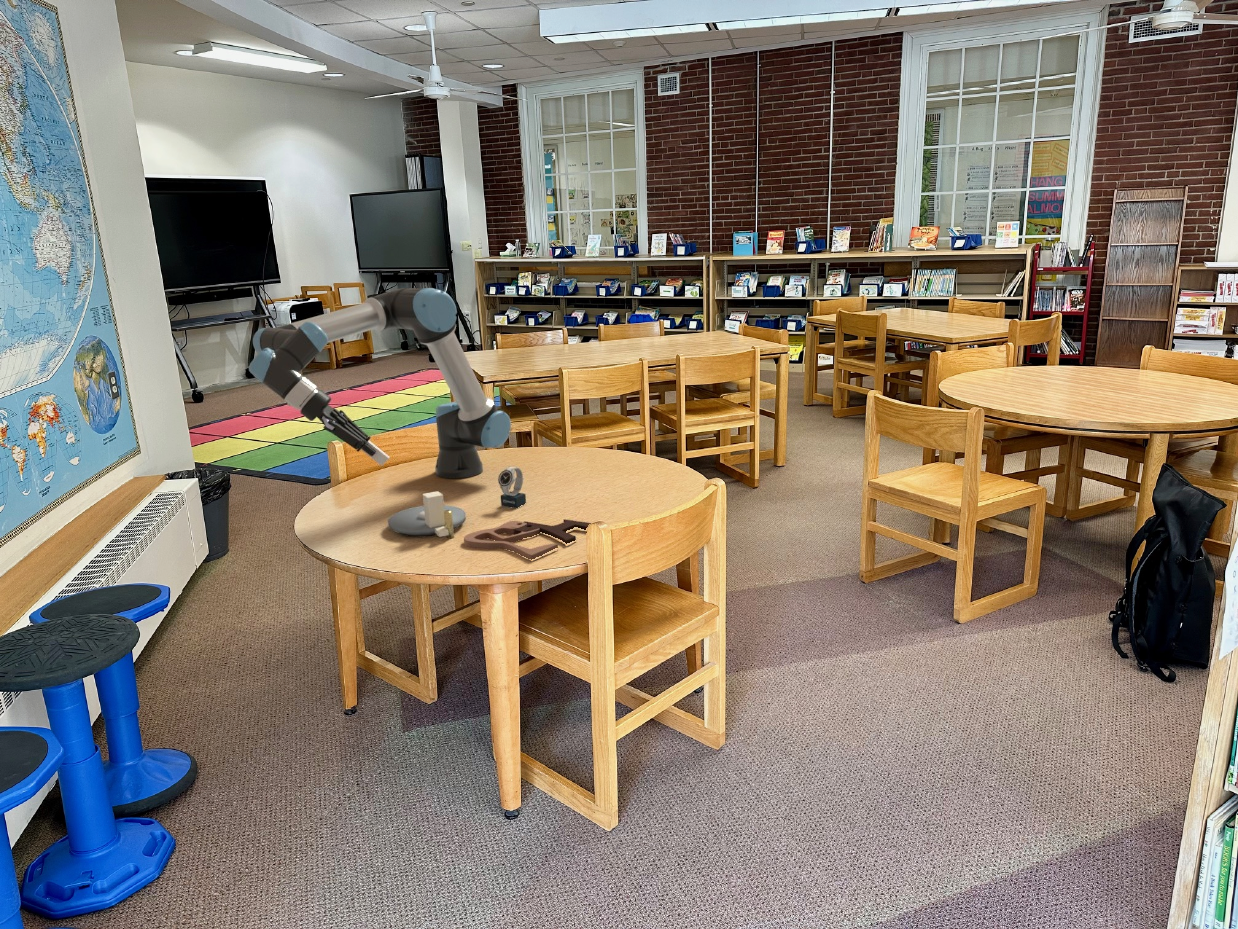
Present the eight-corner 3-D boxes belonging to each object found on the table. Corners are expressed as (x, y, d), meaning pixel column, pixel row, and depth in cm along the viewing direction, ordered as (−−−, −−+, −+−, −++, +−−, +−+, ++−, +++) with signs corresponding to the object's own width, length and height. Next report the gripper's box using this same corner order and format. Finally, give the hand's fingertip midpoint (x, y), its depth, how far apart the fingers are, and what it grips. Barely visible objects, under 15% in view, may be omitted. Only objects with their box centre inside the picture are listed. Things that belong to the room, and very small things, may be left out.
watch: (496, 507, 236) (494, 470, 233) (514, 500, 243) (511, 463, 240) (513, 510, 233) (510, 472, 230) (529, 502, 240) (527, 465, 237)
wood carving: (603, 532, 215) (537, 515, 230) (603, 525, 215) (537, 508, 229) (525, 566, 195) (458, 545, 209) (524, 558, 194) (457, 537, 209)
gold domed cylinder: (449, 535, 215) (447, 509, 213) (455, 536, 214) (453, 510, 212) (444, 538, 213) (442, 511, 211) (450, 539, 212) (448, 512, 211)
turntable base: (424, 513, 233) (423, 510, 232) (470, 521, 225) (470, 517, 225) (383, 532, 219) (383, 528, 219) (432, 540, 212) (432, 536, 212)
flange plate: (379, 518, 225) (376, 485, 223) (451, 504, 235) (448, 473, 232) (404, 543, 206) (401, 508, 203) (481, 528, 215) (479, 494, 213)
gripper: (306, 405, 212) (381, 465, 218) (291, 416, 200) (371, 479, 206) (325, 383, 211) (399, 444, 217) (311, 393, 199) (390, 457, 205)
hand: (385, 461), depth 211 cm, fingers closed
